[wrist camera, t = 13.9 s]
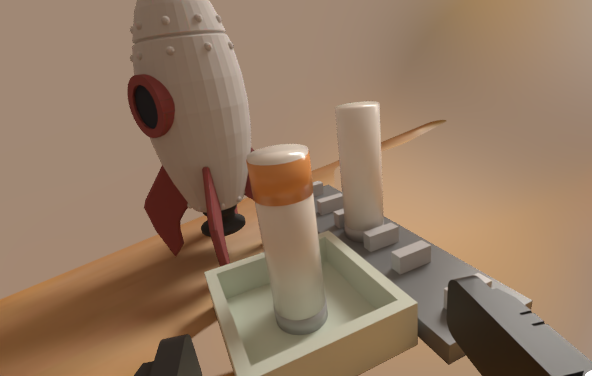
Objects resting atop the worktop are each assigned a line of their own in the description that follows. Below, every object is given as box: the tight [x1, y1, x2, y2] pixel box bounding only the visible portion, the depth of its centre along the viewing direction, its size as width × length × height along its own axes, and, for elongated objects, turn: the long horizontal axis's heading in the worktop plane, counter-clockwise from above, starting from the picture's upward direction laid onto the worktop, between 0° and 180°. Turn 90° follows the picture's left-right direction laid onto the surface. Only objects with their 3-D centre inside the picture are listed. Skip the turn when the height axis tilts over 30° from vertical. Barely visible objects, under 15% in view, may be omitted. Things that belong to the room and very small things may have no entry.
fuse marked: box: [246, 144, 328, 335], centre depth 22 cm, size 4×4×12 cm
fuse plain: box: [335, 102, 384, 243], centre depth 30 cm, size 4×4×12 cm
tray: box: [204, 230, 418, 376], centre depth 24 cm, size 11×11×3 cm
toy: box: [128, 0, 254, 266], centre depth 30 cm, size 11×11×30 cm
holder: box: [313, 181, 532, 365], centre depth 32 cm, size 7×27×3 cm, turn 24°
